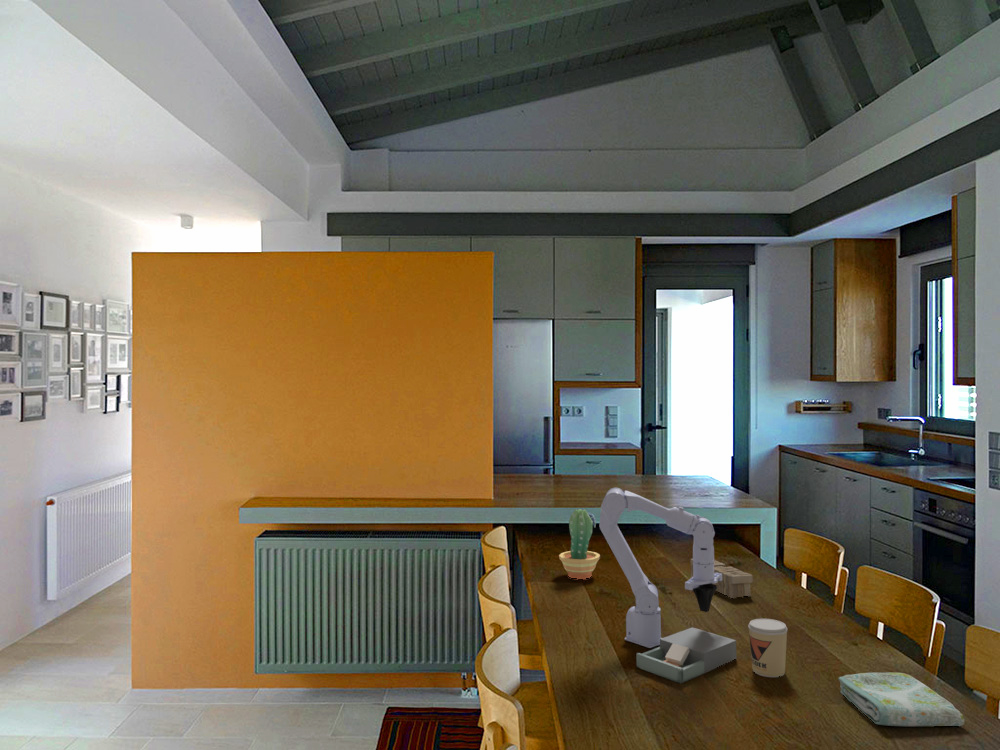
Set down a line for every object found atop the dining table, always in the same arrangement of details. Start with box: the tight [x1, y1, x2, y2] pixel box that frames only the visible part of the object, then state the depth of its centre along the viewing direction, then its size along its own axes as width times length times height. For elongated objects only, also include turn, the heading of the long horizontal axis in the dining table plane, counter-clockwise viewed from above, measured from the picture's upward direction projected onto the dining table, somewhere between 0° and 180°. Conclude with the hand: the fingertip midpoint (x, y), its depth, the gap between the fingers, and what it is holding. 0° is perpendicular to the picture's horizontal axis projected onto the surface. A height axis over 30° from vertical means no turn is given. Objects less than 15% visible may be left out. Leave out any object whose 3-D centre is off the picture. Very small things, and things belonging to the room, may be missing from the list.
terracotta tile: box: [664, 660, 681, 667], centre depth 193 cm, size 4×4×2 cm
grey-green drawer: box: [635, 646, 705, 684], centre depth 194 cm, size 14×10×4 cm
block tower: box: [689, 558, 754, 599], centre depth 267 cm, size 8×8×29 cm
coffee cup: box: [747, 618, 788, 678], centre depth 192 cm, size 9×9×12 cm
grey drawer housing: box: [659, 626, 737, 674], centre depth 202 cm, size 14×14×5 cm
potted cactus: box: [558, 508, 601, 580], centre depth 285 cm, size 15×15×25 cm
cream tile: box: [665, 644, 690, 665], centre depth 195 cm, size 4×4×2 cm
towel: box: [838, 672, 965, 727], centre depth 170 cm, size 18×21×5 cm
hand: (704, 610), depth 212 cm, fingers closed
